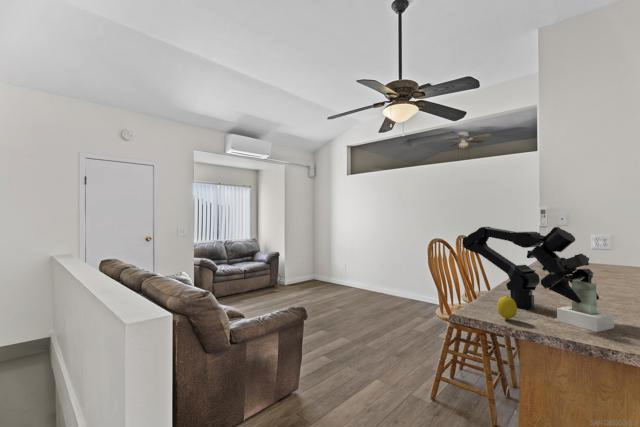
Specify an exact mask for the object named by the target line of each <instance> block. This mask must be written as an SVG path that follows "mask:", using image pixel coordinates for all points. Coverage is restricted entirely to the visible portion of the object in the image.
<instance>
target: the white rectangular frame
mask: <svg viewBox="0 0 640 427" xmlns="http://www.w3.org/2000/svg"><path fill="white" fill-rule="evenodd" d="M614 316H615V315H614V314H613V313H607V312H603V311H600V310H597V315H589V314H585V313H581V312H577V311H573V310H572V305H567V306H562V307H557V308H556V321H558V322H560V323H561V322H562V323H564V324H568V325H571V326H575V327H579V328H581V329H585V330H588V331H591V332H592V331H593V332H596V333H600V332H603V331H607V330H612V329H614V328H615V318H614Z"/></svg>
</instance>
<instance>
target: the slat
mask: <svg viewBox="0 0 640 427" xmlns="http://www.w3.org/2000/svg"><path fill="white" fill-rule="evenodd" d="M571 288H572V289H573V291H574V292H575V293H576V294H577V296H578V297H579V298H580V300H581V303H576V302H574V301H572V300H571V306H572V310H573V311H577V312H581V313H585V314H589V315H597V311H598V309H597V306H598V304H597V303H598V300H597V297H596V293H597V283H593V282H591V283H588V282H582V281H572V283H571Z"/></svg>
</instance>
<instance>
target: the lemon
mask: <svg viewBox="0 0 640 427" xmlns="http://www.w3.org/2000/svg"><path fill="white" fill-rule="evenodd" d="M496 310H497V312H498V314H499V315H500V316H501V317H502V318H504V319H505V320H507V321H509V320H510V319H513V318H515V317H516V315H517V313H518V308H517V306H516V303H515V301H514V300H513V299H512V298H511V296H509V295H504V296H502V297H500V298H499V299H498V301H497V303H496Z"/></svg>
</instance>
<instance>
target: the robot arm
mask: <svg viewBox="0 0 640 427" xmlns="http://www.w3.org/2000/svg"><path fill="white" fill-rule="evenodd" d="M490 238H492V239H496V240H497V239H498V240H501V241H502V240H503V241H506V242H507V241H508V242H511V243H512V244H514V245H516V246H518V247H521V248H524V249H525V248H526V249H527V248H528V249H529V248H532V249H531V250H527V253H526V258H527V259H535V260H537V262H539V263H540V264H541V266H542V268H541V269H542V271H544V272H548V274H546V275H545V276H544V277H543V278H541V279H540V276H539V274H538V273H537V272H536V271H537V270H536V269H532V268H530V266H528V265H527V264H519V265H517V264H515V263H514V262H513V261H510V260H509V259H508V258H507V257H505V256H504V255H502V254H500V253H499V252H497V251H495V249H493V248H491V247H490V246H488V243H487V242H488V240H489V239H490ZM575 242H576V238H575V236H574V235H573V234H572V233H570V232H568V231H566V230H565V229H563V228H561V227H560V226H554V227H553V228H552V229H551V230H550V231H549V232H548V233H547V234H546V235H541V233H540V232H538V231H512V230H507V229H501V228H495V227H492V226H481V227H479V228H478V229H477V230H475V231H473V232H472V233H469V234H468V235H467V236H465V237H463V239H462V247H463V248H464V249H466V250H467V251H469V252H471V253H475V254H478V255H480V256H482V257H483V258H484V259H486V260H487V261H488V262H489V263H491V264H493V265H494V266H496V267H497V268H498V269H500V270H501V271H503V272H504V273H505V274H506V275H507V277H508V279H509V280H508V282H507V283H506V285H505V286H506V288H507V290H508V291H510V298H512V299H513V300H514V301H515V303H516V306H517V309H523V310H531V309H533V308H535V295H533V291H535V290H536V289H537V286H538V285H539V284H540V285H541V286H542V287H543V288H544V289H546V290H547V289H548V290H549V291H552V292H554V293H556V294H559V295H561V296H563V297H564V298H566V299H569V300H571V302H572V301H574V302H576V303H581V300H580V298H579V297H578V296H577V294H576V293H575V292H574V291H573V289H572V286H570V284H572V281H582V282H588V283H592V280H593V278H594V272H593V271H592V270H591V269H590V268H586V267H587V266H589V265H590V262H589V261H590V257H587V255H586V254H583V253H578V254H575V255H574V256H571V257H568V258H566V257H560V256H559V255H558V254H557V253H556V252H558V253H562V252H564V251H565V250H566V249H567V248H568V247H569V246H570V245H571V244H573V243H575ZM583 266H585V268H579V267H583ZM596 297H597V301H598V300H600V297H599V294H598V293H597V292H596Z"/></svg>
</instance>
